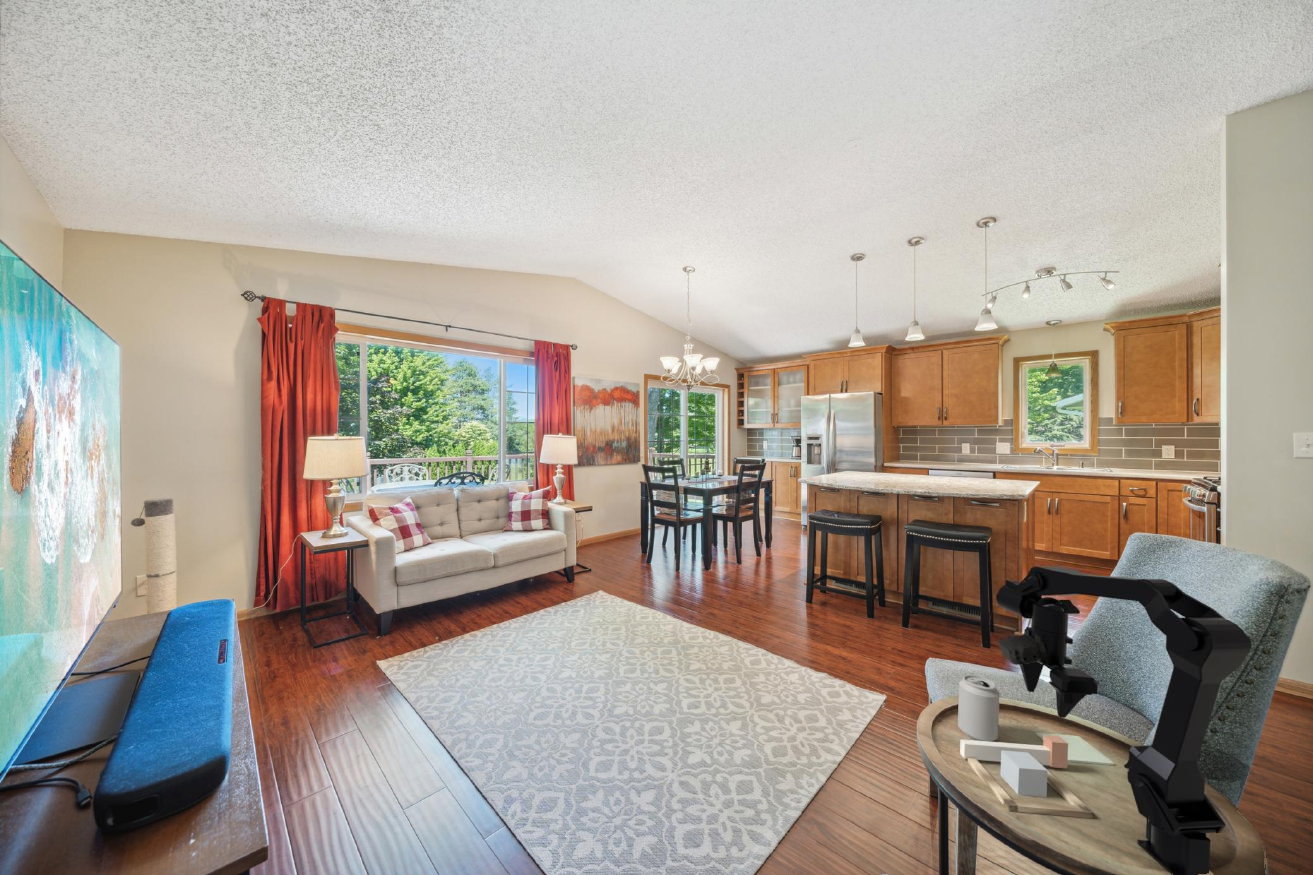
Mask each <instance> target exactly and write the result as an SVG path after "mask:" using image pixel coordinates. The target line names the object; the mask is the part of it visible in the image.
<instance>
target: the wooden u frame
mask: <svg viewBox="0 0 1313 875" xmlns="http://www.w3.org/2000/svg"><path fill="white" fill-rule="evenodd" d="M967 764H968V765H969V766H970V767H971V769H972V770H973V771H974V773H976V774H977V776H978V777H979V778H980V780H982V781H983V783H984V784H985V785H986V786H987V787H988V788H989V790H990V791H991V792H992V793H993V794H994V796H996V798H997V799H998V800H999V801H1000V803H1001V804H1002V805H1003V806H1004V807H1005V808H1006V809H1007V811H1008V810H1009V811H1008V812H1014V813H1015V812H1016V813H1025V814H1039V815H1048V816H1050V815H1052V816H1062V817H1074V818H1083V819H1085V818H1086V819H1094V812H1093V811H1092V810H1091V809H1090V808H1089V807H1088V806H1087V805H1086V804H1084V802H1082V800H1080V799H1079V798H1078V796H1076V795H1075V794H1074V793H1073V792H1072V791H1071V790H1069V789H1068V788H1067V787H1066V786H1065V785H1064V784H1063V783H1062V782H1061V781H1060V780H1059V779H1058V778H1056V776H1055V775H1053V774H1052V773H1051V771H1049V770H1048V769H1047V768H1046V767H1044V768H1045V769H1047V785H1048V784H1049V785H1050V787H1052V789H1054V790H1055V791H1056V792H1057V793H1058V794H1059V795H1060V796H1061V797H1062V798H1063V799H1064V800H1065V801H1066V802H1067V803H1068V804H1066V803H1065V804H1064V803H1053V802H1043V801H1030V800H1020V799H1019V800H1018V799H1012V798H1011V797H1010V796H1009V794H1008V793H1007V792H1006V791H1005V789H1003V788H1002V786H1001V785H1000V784H999V783H998V782H997V781H996V779H995V778H993V777H992V775H991V774H990V773H989V772H988V770H986V768H984V766H983V765H982V764H981V763H980V761H979V760H976V759H975V758H968V759H967Z"/></svg>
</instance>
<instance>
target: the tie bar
mask: <svg viewBox="0 0 1313 875" xmlns="http://www.w3.org/2000/svg"><path fill="white" fill-rule="evenodd" d="M959 747H960V748H959V750H960V751H959V754H960V756H961V757H962V758H963V759H965V760H968V758H975V759H976V760H977V761H987V762H999V763H1001V750H1003V751H1015V752H1028V753H1029V754H1030V755H1031V756H1033V757H1034V758H1035V759H1036V760H1037V761H1038V762H1039V763H1040V764H1041V765H1042V766H1049V767H1051V768H1060V769H1068V743H1067V742H1066V741H1065V740H1063V739H1062V738H1061V737H1060V736H1054V735H1043V740H1042V745H1040V744H1039V745H1037V744H1024V743H1013V742H1012V743H1011V742H999V741H992V742H989V741H977V740H974V739H972V740H971V739H964V738H963V739H962V738H961V739H960V743H959Z"/></svg>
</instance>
